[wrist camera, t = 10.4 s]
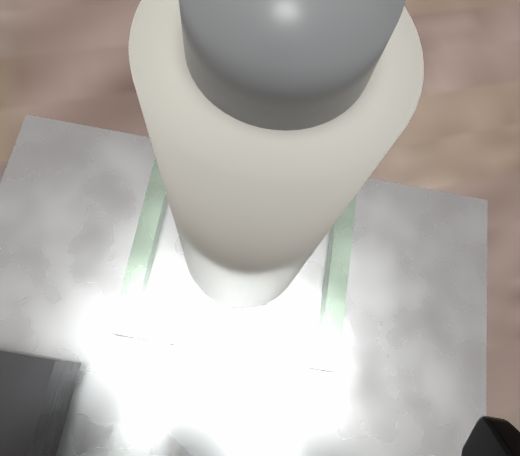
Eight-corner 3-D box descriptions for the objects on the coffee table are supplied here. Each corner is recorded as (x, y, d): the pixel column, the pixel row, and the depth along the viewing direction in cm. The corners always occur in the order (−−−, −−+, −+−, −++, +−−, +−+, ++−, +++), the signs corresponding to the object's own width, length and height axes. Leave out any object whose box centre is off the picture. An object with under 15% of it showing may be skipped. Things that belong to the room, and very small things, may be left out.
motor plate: (452, 586, 19) (540, 667, 14) (-81, 500, 18) (-201, 550, 13) (461, 217, 24) (527, 173, 19) (45, 140, 24) (-4, 74, 18)
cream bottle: (315, 288, 20) (531, 83, 6) (203, 323, 19) (159, 177, 5) (278, 185, 21) (387, -172, 7) (172, 214, 20) (73, -130, 7)
